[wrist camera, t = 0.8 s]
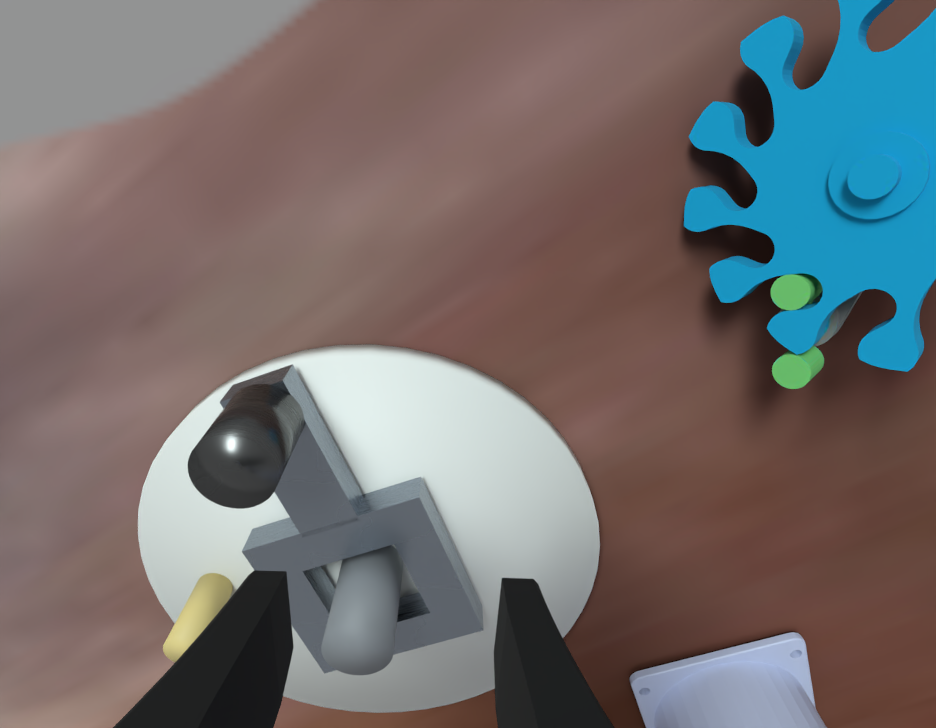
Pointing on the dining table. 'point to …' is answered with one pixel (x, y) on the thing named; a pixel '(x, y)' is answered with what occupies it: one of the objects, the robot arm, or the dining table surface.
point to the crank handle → (327, 513)
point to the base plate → (382, 570)
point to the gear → (833, 189)
